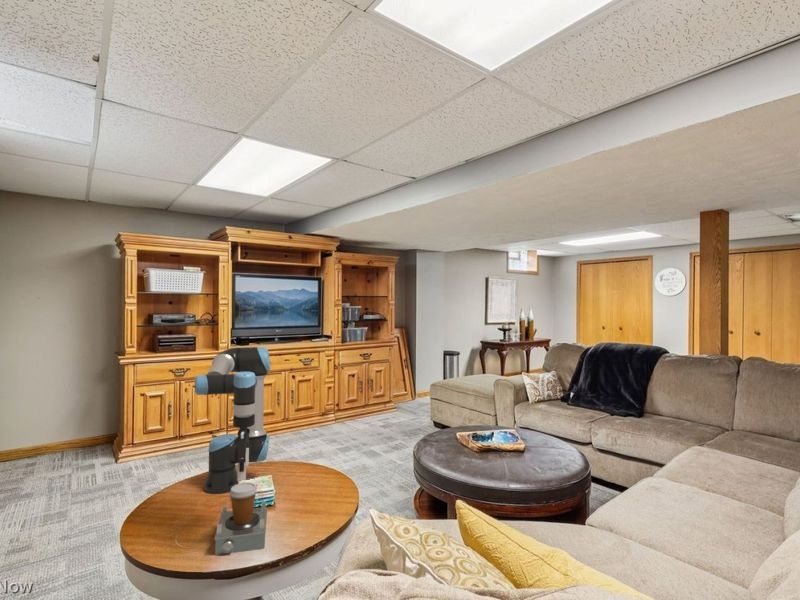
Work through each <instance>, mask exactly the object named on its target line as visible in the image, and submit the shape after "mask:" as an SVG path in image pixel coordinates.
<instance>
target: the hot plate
mask: <svg viewBox="0 0 800 600" xmlns="http://www.w3.org/2000/svg"><path fill="white" fill-rule="evenodd" d="M266 504H267V503H266V501H261V507H256V508H253V515H252V520H251V521H250V522H249V523H246V524H241V525H239V524H235V523H234V519H233V510H229V511H228V505H223V506H222V507H221V508H222V511H221V514H220V518H219V520H218V523H217V525H216V532H215V534H214V540H215V541H214V542H215V547H214V548H215V551H214V552H215V556H218V555H219V556H220V555H225V554H232V553H233V554H234V553H242V552H247V551H255V550H262V549H265V547H266V532H267V531H266V530H267V519H268V518H267V516H268V507H267V505H266Z"/></svg>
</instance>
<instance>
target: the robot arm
mask: <svg viewBox="0 0 800 600" xmlns="http://www.w3.org/2000/svg"><path fill="white" fill-rule="evenodd" d="M270 360H271V359H270V353H269V349H268V348H267V347H261V346H249V347H244V346H243V347H230V348H228V349H226V350H225V349H224V350H223V351H221V352H219V353H218V354H216V355H215V356H214V358H213V359H212V361H211V366H210V368H209V370H208V371H207V373H206V374H205V373H204V374H198V375H196V377H195V378H194V393H195V394H196V395H198V396H200V395H201V396H202V395H203V396H209V395H210V396H211V395H232V394H233V406H231V409H232V411H233V416H232V426H233V427H235V428H236V429H237V428H239V429H238V430H237V434H235V433H226V434H221V435H218V436H216V437H214V438H212V439H211V440H210V441H209V446H208V473H207V475H206V478H205V482H204V485H203V487H204V488H203V490H204V491H205V492H206V493H208V494H215V495H216V494H224V493H230V491H231V488H232V487H233V486H234V485H237V484H238V481H239V482H240V481H246V480H247V466H249V464H250V463H259V462H264V461H266V460H267V457H268V451H269V444H270V435H269V434H267V433H268V432H267V431H266V430H265V428H264V410H265V409H264V408H265V404H264V401H265V399H264V396H265V394H264V393H265V378H267V376H268V372H270V371H271V361H270ZM236 464H237V469H236Z"/></svg>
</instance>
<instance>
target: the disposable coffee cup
mask: <svg viewBox="0 0 800 600" xmlns="http://www.w3.org/2000/svg"><path fill="white" fill-rule="evenodd" d="M257 492H258V488H257V485H256V484H255V483H254V482H241V483H240V482H239V484H237V485H234V486H233V487H232V488H231V491H229V496H230V501H231V509H232V510H231V511H233V519H234V523H235V524H239V525H241V524H246V523H249V522H250V521H251V520H252V515H253V509H254V506H255V502H256V501H255V500H256V495H257Z"/></svg>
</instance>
